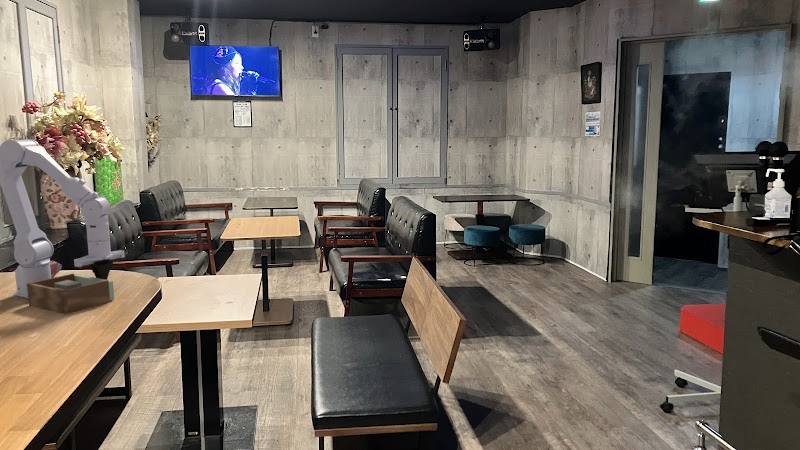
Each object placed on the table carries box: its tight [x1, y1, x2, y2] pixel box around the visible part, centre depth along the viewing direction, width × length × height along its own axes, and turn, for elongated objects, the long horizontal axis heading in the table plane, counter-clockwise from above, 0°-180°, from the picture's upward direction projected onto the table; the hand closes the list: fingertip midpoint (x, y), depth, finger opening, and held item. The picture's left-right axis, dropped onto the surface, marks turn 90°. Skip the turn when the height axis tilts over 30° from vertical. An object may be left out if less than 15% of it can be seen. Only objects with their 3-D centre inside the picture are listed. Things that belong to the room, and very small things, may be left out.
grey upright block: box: [54, 280, 82, 290], centre depth 171 cm, size 4×6×5 cm
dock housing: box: [27, 273, 111, 315], centre depth 172 cm, size 16×13×6 cm
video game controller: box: [50, 260, 63, 278], centre depth 197 cm, size 10×5×7 cm, turn 169°
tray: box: [74, 274, 115, 301], centre depth 173 cm, size 15×14×5 cm
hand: (102, 286), depth 180 cm, fingers closed
